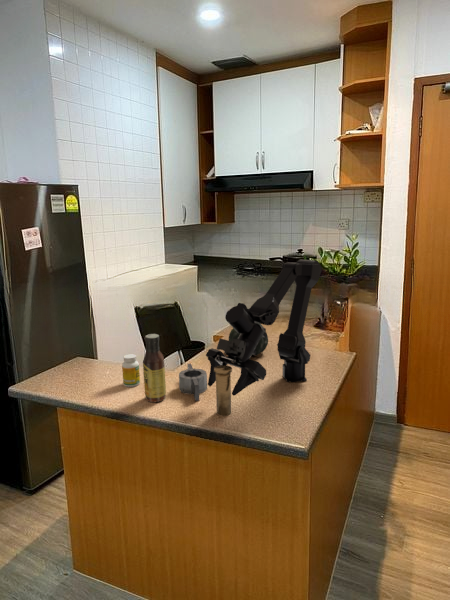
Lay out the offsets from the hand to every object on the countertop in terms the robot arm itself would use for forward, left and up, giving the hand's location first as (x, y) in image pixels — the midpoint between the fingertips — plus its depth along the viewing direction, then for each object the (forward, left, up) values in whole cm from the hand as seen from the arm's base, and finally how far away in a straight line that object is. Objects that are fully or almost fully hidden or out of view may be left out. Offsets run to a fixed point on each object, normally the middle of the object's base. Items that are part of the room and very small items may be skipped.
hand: (220, 390), depth 120 cm
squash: (-17, -49, -7) cm, 52 cm away
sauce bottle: (+18, -13, -7) cm, 24 cm away
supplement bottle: (+26, -26, -7) cm, 38 cm away
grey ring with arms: (+7, -19, -7) cm, 21 cm away
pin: (-1, -1, -7) cm, 7 cm away
